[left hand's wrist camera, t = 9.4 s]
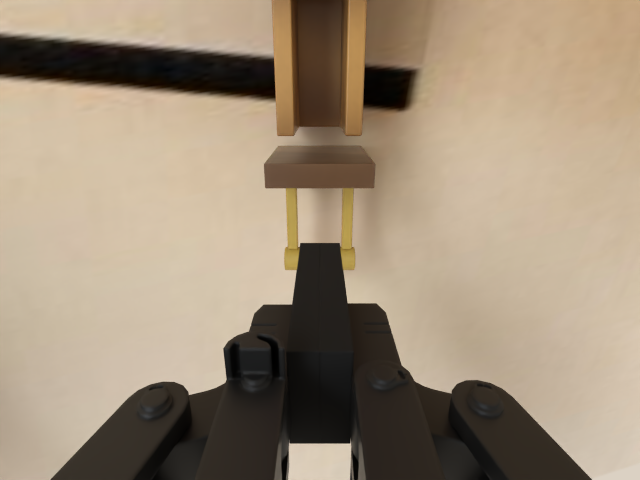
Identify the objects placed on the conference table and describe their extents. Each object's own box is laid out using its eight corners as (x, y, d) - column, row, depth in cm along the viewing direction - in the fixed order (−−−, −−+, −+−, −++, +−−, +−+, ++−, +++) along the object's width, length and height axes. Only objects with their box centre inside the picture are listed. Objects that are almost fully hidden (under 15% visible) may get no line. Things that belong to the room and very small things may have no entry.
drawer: (357, 249, 27) (368, 296, 21) (282, 249, 27) (270, 296, 21) (372, -137, 19) (396, -246, 13) (267, -137, 19) (242, -247, 13)
